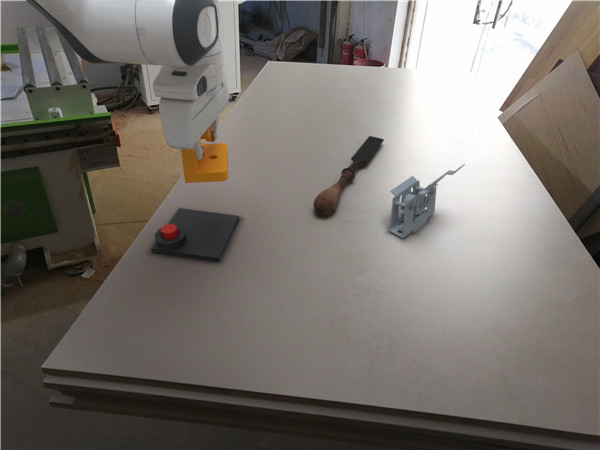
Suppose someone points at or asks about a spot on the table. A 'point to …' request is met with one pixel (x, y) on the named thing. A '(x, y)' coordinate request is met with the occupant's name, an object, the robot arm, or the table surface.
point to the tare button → (169, 231)
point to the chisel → (346, 176)
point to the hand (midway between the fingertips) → (205, 148)
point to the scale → (197, 235)
